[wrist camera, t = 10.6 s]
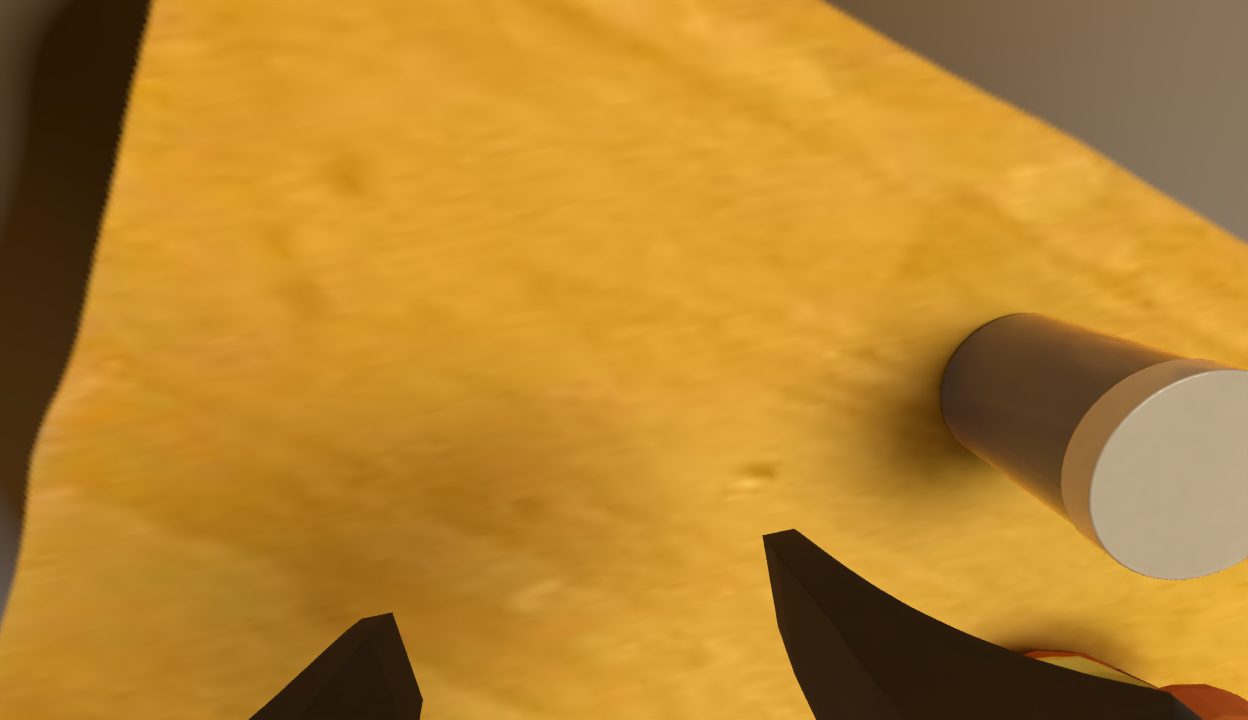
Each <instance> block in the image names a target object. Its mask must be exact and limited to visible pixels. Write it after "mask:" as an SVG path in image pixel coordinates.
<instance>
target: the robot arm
mask: <svg viewBox="0 0 1248 720" xmlns="http://www.w3.org/2000/svg"><path fill="white" fill-rule="evenodd" d="M763 541H764V547H765V553H766V559H767V564H768V570H769V576H770V582H771V588H772V594H773V599H774V605H775V611H776V617H777V623H778V628H779V631H780V633H781V636H782V639H783V642H784V645H785V648H786V651H787V654H788V657H789V660H790V662H791V665H792V668H793V671H794V674H795V676H796V678H797V680H798V683H799V685H800V687H801V689H802V691H803V693H804V695H805V697H806V699H807V701H808V704H809V706H810V708H811V710H812V712H813V714H814V716H815V718H816V720H1203V719H1202V718H1201V717H1200V716H1198V715H1197V714H1196V713H1195V712H1193V711H1192V710H1191V709H1190V708H1188V707H1187V706H1186V705H1185V704H1184V703H1182V702H1181V701H1180V700H1178V699H1177V698H1176V697H1175V696H1173V695H1172V694H1171V693H1170V692H1166V691H1162V690H1157V689H1153V688H1148V687H1144V686H1139V685H1135V684H1130V683H1125V682H1121V681H1116V680H1112V679H1107V678H1103V677H1098V676H1094V675H1090V674H1086V673H1082V672H1079V671H1075V670H1072V669H1068V668H1065V667H1062V666H1058V665H1055V664H1051V663H1048V662H1044V661H1041V660H1038V659H1035V658H1032V657H1029V656H1026V655H1023V654H1020V653H1017V652H1014V651H1011V650H1008V649H1006V648H1003V647H1000V646H998V645H995V644H993V643H990V642H987V641H985V640H982V639H979V638H977V637H974V636H972V635H969V634H967V633H965V632H962V631H960V630H958V629H955V628H953V627H951V626H949V625H947V624H945V623H943V622H941V621H938V620H936V619H934V618H932V617H930V616H928V615H926V614H924V613H922V612H920V611H918V610H916V609H914V608H912V607H910V606H908V605H906V604H905V603H903V602H901V601H899V600H898V599H896V598H894V597H893V596H891V595H889V594H887V593H886V592H884V591H882V590H880V589H879V588H877V587H876V586H874V585H872V584H871V583H869V582H868V581H866V580H865V579H863V578H862V577H860V576H859V575H857V574H856V573H854V572H853V571H851V570H850V569H848V568H847V567H846V566H844V565H843V564H841V563H840V562H839V561H837V560H836V559H834V558H833V557H832V556H830V555H829V554H828V553H826V552H825V551H824V550H822V549H821V548H820V547H818V546H817V545H816V544H814V543H813V542H812V541H810V540H809V539H808V538H806V537H805V536H804V535H802V534H801V533H800V532H798V531H797V530H795V529H791V530H786V531H781V532H777V533H772V534H767V535H763ZM422 702H423V699H422V696H421V693H420V690H419V687H418V684H417V681H416V679H415V676H414V673H413V670H412V667H411V664H410V661H409V659H408V656H407V653H406V650H405V647H404V644H403V641H402V639H401V636H400V633H399V630H398V627H397V624H396V621H395V619H394V616H393V613H387V614H382V615H377V616H373V617H368V618H363V619H361V620H359V621H358V622H357V623H355V624H354V625H353V626H352V627H350V628H349V629H348V630H347V631H346V632H345V633H343V634H342V635H341V636H340V637H339V638H338V639H337V640H336V641H335V642H333V643H332V644H331V645H330V646H329V647H328V648H327V649H326V650H325V651H324V652H323V653H322V654H321V655H319V656H318V657H317V658H316V659H315V660H314V661H313V662H312V663H311V664H310V665H309V666H308V667H307V668H305V669H304V670H303V671H302V672H301V673H300V674H299V675H298V676H297V677H296V678H295V679H294V680H293V681H291V682H290V683H289V684H288V685H287V686H286V687H285V688H284V689H283V690H282V691H281V692H280V693H278V694H277V695H276V696H275V697H274V698H273V699H272V700H271V701H269V702H268V703H267V704H266V705H265V706H264V707H263V708H261V709H260V710H259V711H258V712H257V713H256V714H255V715H253V716H252V717H251V718H250V719H249V720H420V714H421V708H422Z"/></svg>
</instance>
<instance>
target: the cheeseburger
mask: <svg viewBox="0 0 1248 720" xmlns="http://www.w3.org/2000/svg"><path fill="white" fill-rule="evenodd" d="M1023 655H1026V656H1029V657H1032V658H1035V659H1038V660H1041V661H1044V662H1048V663H1051V664H1055V665H1058V666H1062V667H1065V668H1068V669H1072V670H1075V671H1079V672H1082V673H1086V674H1090V675H1094V676H1098V677H1103V678H1107V679H1112V680H1116V681H1121V682H1125V683H1130V684H1135V685H1139V686H1144V687H1148V688H1153V689H1157V690H1162V691H1166V692H1170V693H1171V694H1172V695H1173V696H1175V697H1176V698H1177V699H1178V700H1180V701H1181V702H1182V703H1184V704H1185V705H1186V706H1187V707H1188V708H1190V709H1191V710H1192V711H1193V712H1195V713H1196V714H1197V715H1198V716H1200V717H1201V718H1202V719H1203V720H1248V701H1246V700H1245V699H1243V698H1241V697H1240V696H1238V695H1236V694H1233V693H1231V692H1228V691H1225V690H1222V689H1219V688H1216V687H1212V686H1209V685H1206V684H1189V685H1169V686H1165V687H1161V688H1158V687H1155V686H1153V685H1151V684H1149V683H1147V682H1145V681H1142V680H1140V679H1138V678H1136V677H1134V676H1132V675H1130V674H1127V673H1125V672H1123V671H1121V670H1119V669H1116V668H1114V667H1112V666H1110V665H1108V664H1105V663H1103V662H1101V661H1099V660H1097V659H1095V658H1093V657H1091V656H1089V655H1086V654H1084V653H1069V652H1052V651H1034V652H1030V653H1026V654H1023Z"/></svg>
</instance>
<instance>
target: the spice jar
mask: <svg viewBox="0 0 1248 720" xmlns="http://www.w3.org/2000/svg"><path fill="white" fill-rule="evenodd" d="M941 407H942V413H943V417H944V420H945V422H946V425H947V427H948V429H949V430H950V432H951V433H952V435H953V436H954V437H955V439H956V440H957V441H958V442H959V443H960V444H962V445H963V446H964V447H965V448H967V449H968V450H969V451H971V452H972V453H973V454H975V455H976V456H978V457H979V458H980V459H982V460H983V461H985V462H986V463H987V464H989V465H990V466H992V467H993V468H994V469H996V470H997V471H999V472H1000V473H1001V474H1003V475H1004V476H1006V477H1007V478H1008V479H1010V480H1011V481H1012V482H1014V483H1015V484H1017V485H1018V486H1019V487H1021V488H1022V489H1024V490H1025V491H1026V492H1028V493H1029V494H1031V495H1032V496H1033V497H1035V498H1036V499H1038V500H1039V501H1040V502H1042V503H1043V504H1044V505H1046V506H1047V507H1049V508H1050V509H1051V510H1053V511H1054V512H1056V513H1057V514H1058V515H1060V516H1061V517H1063V518H1064V519H1065V520H1067V521H1068V522H1070V523H1071V524H1072V525H1074V526H1075V527H1076V529H1077V530H1078V531H1079V532H1080V533H1081V534H1082V535H1083V537H1084V538H1086V539H1087V540H1088V541H1089V542H1091V543H1092V544H1093V545H1094V546H1096V547H1097V548H1099V549H1100V550H1101V551H1103V552H1104V553H1105V554H1107V555H1108V556H1110V557H1111V558H1112V559H1114V560H1115V561H1116V562H1118V563H1119V564H1121V565H1122V566H1124V567H1126V568H1127V569H1129V570H1131V571H1133V572H1136V573H1139V574H1141V575H1144V576H1148V577H1152V578H1157V579H1166V580H1185V579H1193V578H1199V577H1203V576H1207V575H1211V574H1214V573H1217V572H1220V571H1223V570H1225V569H1228V568H1230V567H1232V566H1234V565H1236V564H1238V563H1240V562H1242V561H1243V560H1245V559H1247V558H1248V370H1246V369H1242V368H1239V367H1235V366H1232V365H1228V364H1225V363H1221V362H1218V361H1214V360H1207V359H1192V358H1189V357H1186V356H1182V355H1179V354H1175V353H1172V352H1169V351H1165V350H1162V349H1159V348H1155V347H1152V346H1148V345H1145V344H1142V343H1138V342H1135V341H1131V340H1128V339H1125V338H1121V337H1118V336H1115V335H1111V334H1108V333H1104V332H1101V331H1098V330H1094V329H1091V328H1088V327H1084V326H1081V325H1077V324H1074V323H1071V322H1067V321H1064V320H1060V319H1057V318H1054V317H1050V316H1047V315H1043V314H1035V313H1023V314H1015V315H1010V316H1007V317H1003V318H1000V319H998V320H995V321H993V322H991V323H989V324H987V325H985V326H983V327H982V328H981V329H979V330H978V331H976V332H975V333H974V334H972V335H971V336H970V337H969V338H968V339H967V340H966V341H965V342H964V343H963V344H962V345H961V346H960V347H959V349H958V350H957V352H956V353H955V354H954V356H953V358H952V359H951V361H950V363H949V365H948V367H947V370H946V372H945V375H944V378H943V382H942V388H941Z"/></svg>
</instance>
